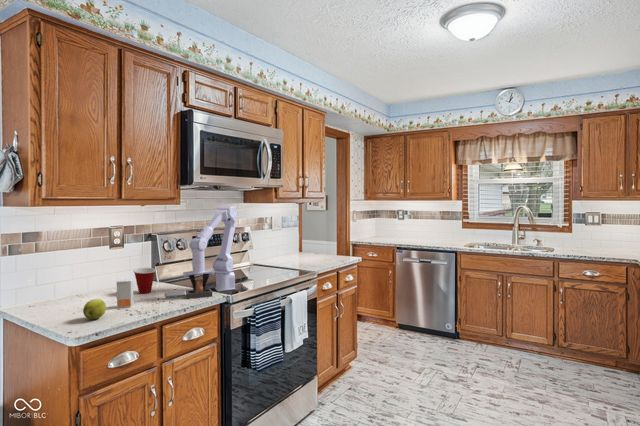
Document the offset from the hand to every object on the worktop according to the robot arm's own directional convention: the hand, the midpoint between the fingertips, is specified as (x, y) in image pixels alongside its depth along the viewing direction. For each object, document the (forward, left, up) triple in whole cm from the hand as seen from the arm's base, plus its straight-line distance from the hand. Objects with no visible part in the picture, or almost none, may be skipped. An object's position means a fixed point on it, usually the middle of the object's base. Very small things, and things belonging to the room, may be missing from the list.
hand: (199, 289), depth 203 cm
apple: (+44, +20, -3) cm, 48 cm away
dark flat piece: (0, 0, -3) cm, 3 cm away
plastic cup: (+24, -20, -3) cm, 31 cm away
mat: (+10, -8, -3) cm, 14 cm away
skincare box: (+33, +5, -3) cm, 34 cm away
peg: (0, 0, -3) cm, 3 cm away
